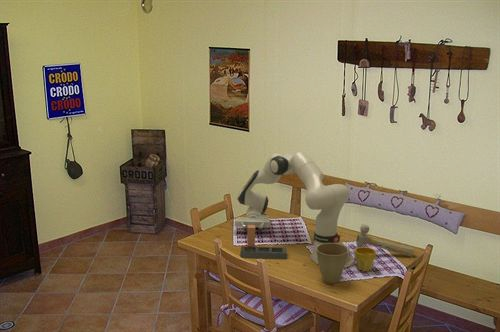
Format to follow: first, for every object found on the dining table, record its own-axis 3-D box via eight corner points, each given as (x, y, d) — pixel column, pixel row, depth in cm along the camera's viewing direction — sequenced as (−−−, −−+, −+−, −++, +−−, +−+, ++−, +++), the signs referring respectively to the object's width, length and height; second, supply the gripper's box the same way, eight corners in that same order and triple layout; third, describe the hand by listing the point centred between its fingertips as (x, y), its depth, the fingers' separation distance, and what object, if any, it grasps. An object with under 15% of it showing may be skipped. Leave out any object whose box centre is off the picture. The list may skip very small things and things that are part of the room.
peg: (254, 245, 298) (255, 225, 295) (254, 248, 295) (255, 227, 292) (247, 245, 299) (247, 225, 296) (247, 248, 295) (247, 227, 292)
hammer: (416, 237, 287) (361, 223, 288) (418, 241, 283) (362, 226, 283) (407, 264, 291) (352, 249, 292) (408, 267, 287) (353, 253, 287)
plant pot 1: (329, 270, 270) (331, 240, 266) (353, 281, 259) (355, 249, 255) (308, 278, 261) (309, 247, 257) (331, 290, 249) (333, 258, 245)
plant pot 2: (361, 262, 279) (362, 244, 276) (378, 269, 272) (380, 251, 269) (349, 268, 272) (350, 250, 270) (366, 275, 265) (368, 256, 262)
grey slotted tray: (286, 252, 290) (286, 247, 289) (286, 258, 282) (286, 253, 282) (241, 251, 291) (241, 246, 290) (240, 257, 283) (240, 252, 282)
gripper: (235, 213, 319) (233, 221, 306) (270, 214, 318) (270, 222, 305) (235, 223, 321) (233, 232, 307) (270, 224, 320) (270, 233, 307)
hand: (252, 227), depth 306 cm, fingers open, 8 cm apart
